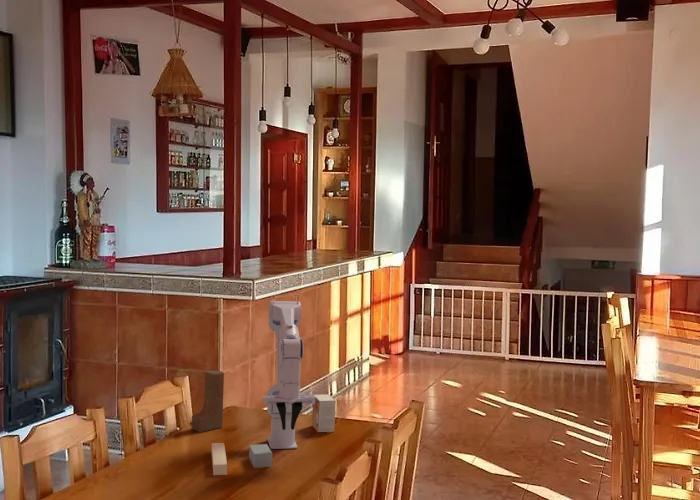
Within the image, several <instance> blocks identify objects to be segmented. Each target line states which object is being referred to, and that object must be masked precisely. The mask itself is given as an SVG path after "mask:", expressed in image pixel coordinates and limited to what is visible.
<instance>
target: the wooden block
mask: <svg viewBox="0 0 700 500" xmlns="http://www.w3.org/2000/svg"><path fill="white" fill-rule="evenodd" d="M224 382H225V373H224V372H223V371H220V370H216V369H215V370H207V371H205V372H204V394H203V395H204V396H203V397H204V399H203V400H204V401H203V404H202V409H201V410H200V411H199V412H198V413H196V414H193V415H191V430H192V431H196V432H197V433H202V432H207V431H208V432H209V431H211V430H218V429H220V428H223V422H224V421H223V417H224V388H225V387H224V386H225V385H224V384H225V383H224Z"/></svg>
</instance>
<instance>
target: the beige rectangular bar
mask: <svg viewBox="0 0 700 500" xmlns="http://www.w3.org/2000/svg"><path fill="white" fill-rule="evenodd" d="M211 463H212V475H213V476H227V475H228V462H227V454H226V447H225V442H215V443H214V442H213V443H211Z"/></svg>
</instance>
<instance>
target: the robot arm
mask: <svg viewBox="0 0 700 500" xmlns="http://www.w3.org/2000/svg"><path fill="white" fill-rule="evenodd" d="M267 308H268V309H267V310H268V311H267V313H268V326H269V330H271V331H273V332H274V335H275V338H276V383H274V384H273V385H272V386H271V387H269V389H268V392H267V395H263V396H262V397H263V398H262V404H263V405H265V406H266V405H267V406H266V411H267V414H268V415H270V416H271V420H270V421H271V422H270V423H271V424H270V425H271V426H270V437H267V442H268V444H269V445H268V446H269V448H270V450H273V449H274V450H277V449H283V450H284V449H297V448H298V445H297V442H296V440H295V439H296V423H297V420H298V418H299V415H300V414H301V412H302V410H303V404H312V405H313V404H315V396H313V395H308V394H301V390H300V389H301V368H302V365H301V364H302V360H303V357H304V352H305V351H304V348H305V347H304V339H303V338H302V337H300V332H299V326H300V321H301V318H302V317H301V315H302V303H301V302H300V300H297V301H296V300H295V301H294V300H293V301H291V300H286V301H285V300H270V301H269V302H268V307H267Z"/></svg>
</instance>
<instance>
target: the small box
mask: <svg viewBox="0 0 700 500" xmlns="http://www.w3.org/2000/svg"><path fill="white" fill-rule="evenodd" d="M312 396H315V404H312V413H311V426H312V427H313V428H314V430H315V431H316V432H317V433H318V432H327V433H334V432H335V423H336V420H335V419H336V405H337V401H336V400H335V399H334V398H333V397H332V395H330V394H328V393H327V394H312Z"/></svg>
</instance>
